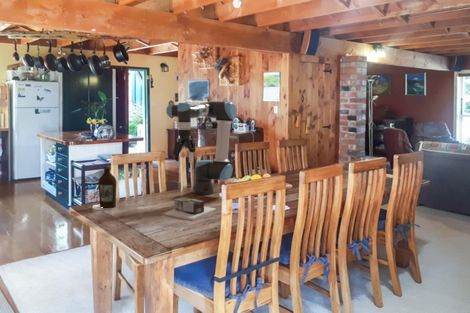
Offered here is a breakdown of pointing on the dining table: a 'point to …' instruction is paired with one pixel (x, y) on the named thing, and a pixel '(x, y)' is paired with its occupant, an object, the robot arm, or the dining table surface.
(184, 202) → the coffee box
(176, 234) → the dining table surface
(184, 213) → the board
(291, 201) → the dining table surface
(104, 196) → the olive oil
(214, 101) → the robot arm
